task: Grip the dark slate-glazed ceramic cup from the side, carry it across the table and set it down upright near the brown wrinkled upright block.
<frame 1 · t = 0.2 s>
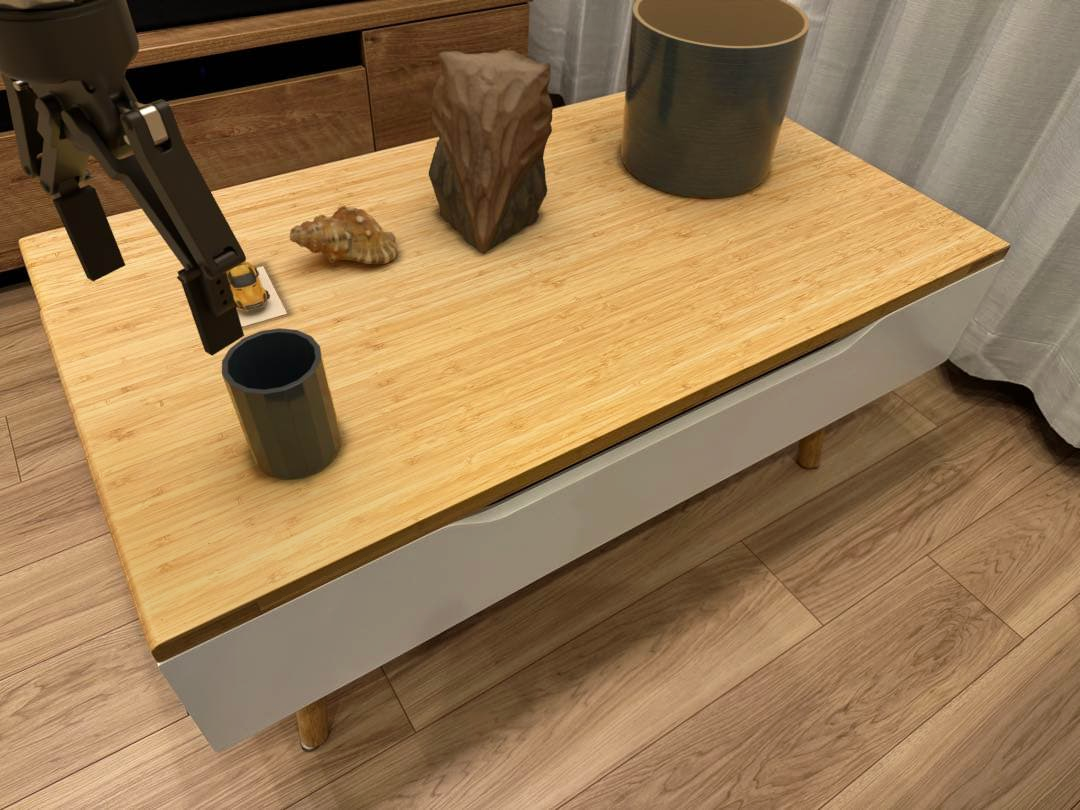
hand: (163, 306, 56), 19 cm above the table, tool pointing down, fingers open, 13 cm apart
brown wrinkled upright block: (485, 224, 100), on the table
cup: (297, 446, 73), on the table
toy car: (249, 297, 88), on the table
planter: (693, 161, 113), on the table
seashell: (349, 259, 94), on the table
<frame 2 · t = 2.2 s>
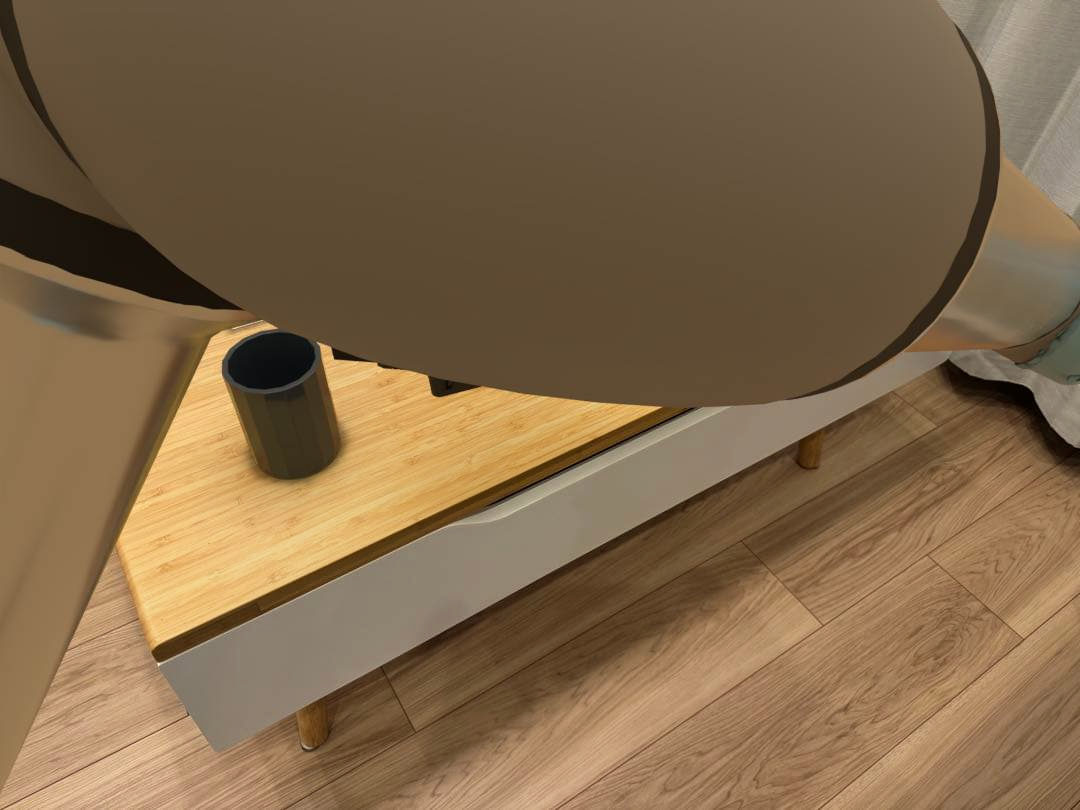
hand: (357, 280, 57), 20 cm above the table, tool horizontal, fingers open, 13 cm apart
nothing on the table moved.
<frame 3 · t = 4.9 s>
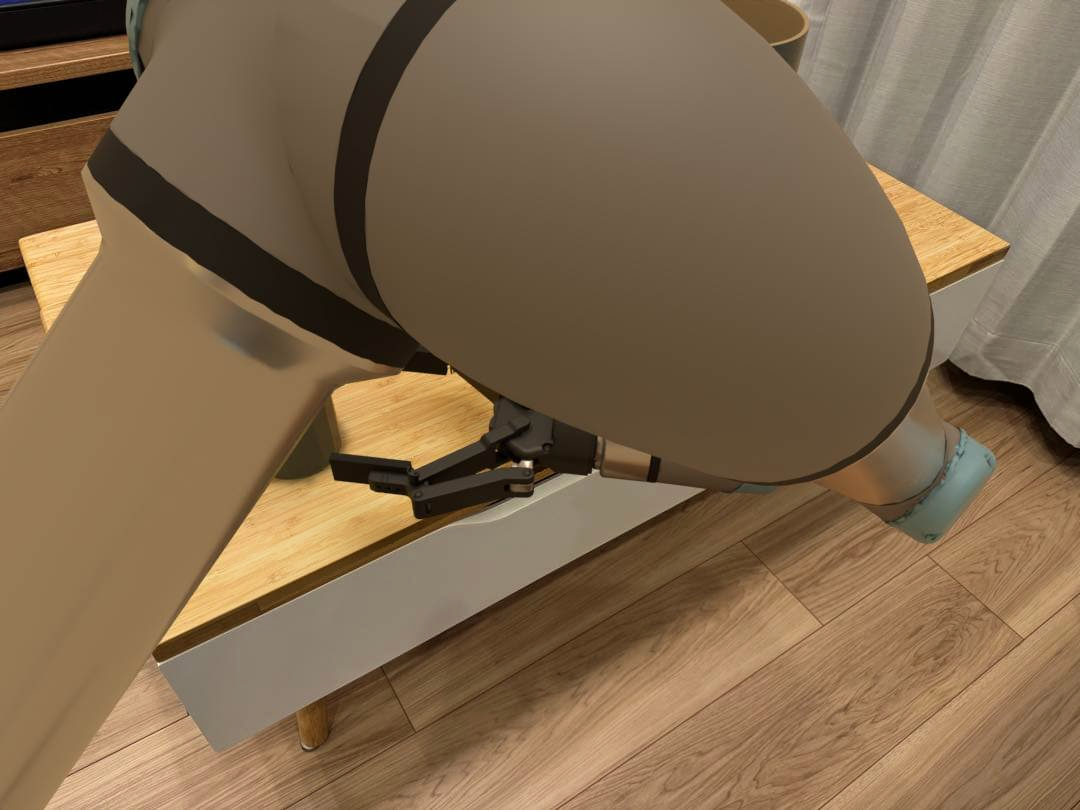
hand: (356, 407, 68), 6 cm above the table, tool horizontal, fingers open, 13 cm apart
nothing on the table moved.
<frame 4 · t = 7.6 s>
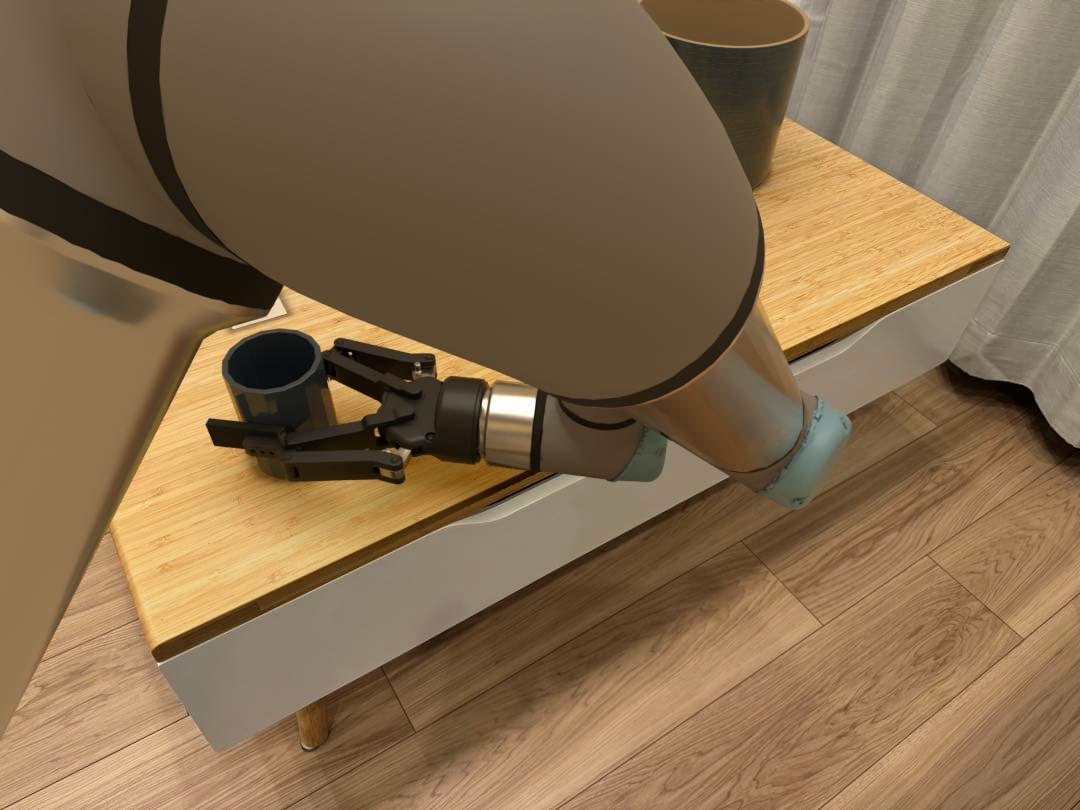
hand: (232, 396, 69), 6 cm above the table, tool horizontal, fingers closed on cup, 8 cm apart
cup: (297, 446, 73), on the table, touching gripper
everything else where it was.
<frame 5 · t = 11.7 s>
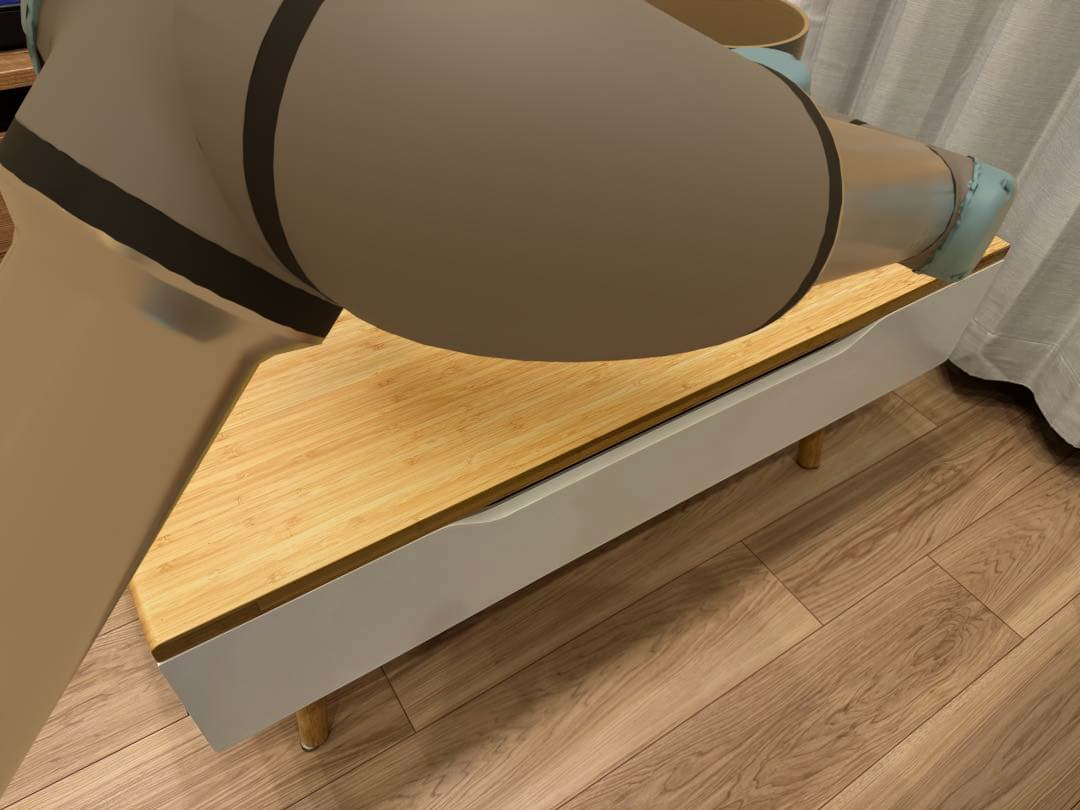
hand: (334, 219, 67), 18 cm above the table, tool horizontal, fingers closed on cup, 8 cm apart
cup: (396, 281, 71), point 12 cm above the table, touching gripper
everything else where it was.
when the fingers open (6 cm above the table, at t = 16.0 s): cup stays where it is, on the table.
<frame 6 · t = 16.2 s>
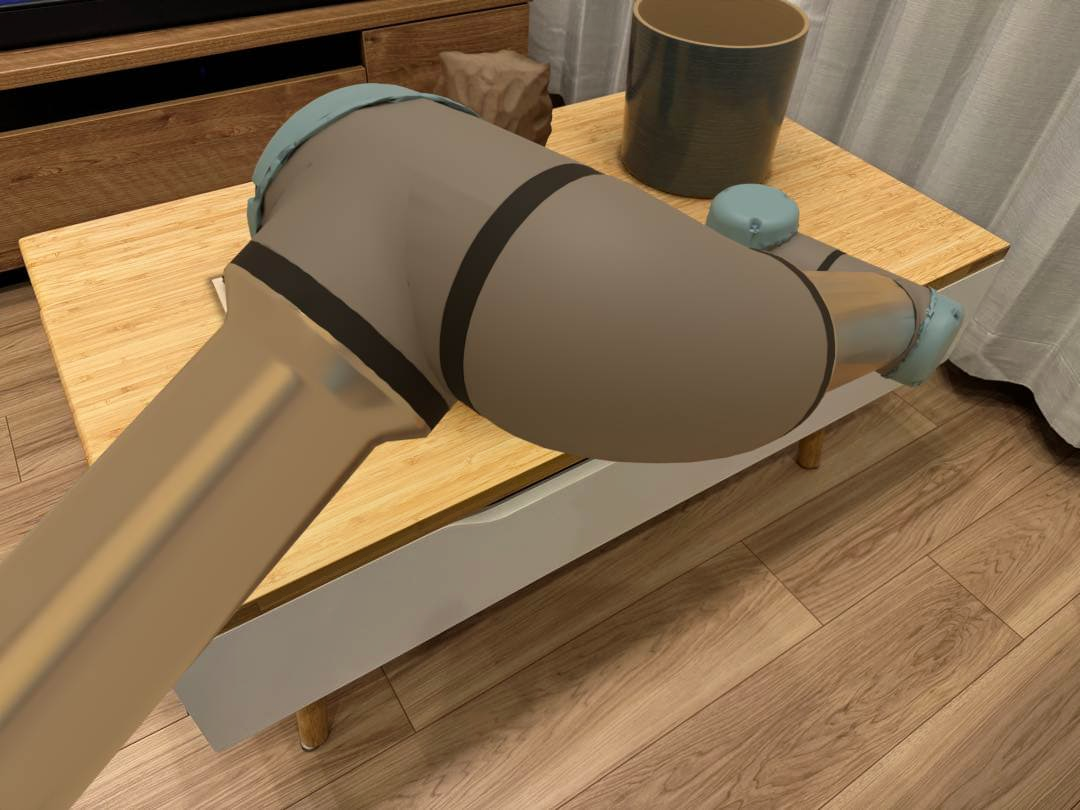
hand: (396, 310, 78), 6 cm above the table, tool horizontal, fingers open, 9 cm apart
cup: (444, 358, 82), on the table
everything else where it was.
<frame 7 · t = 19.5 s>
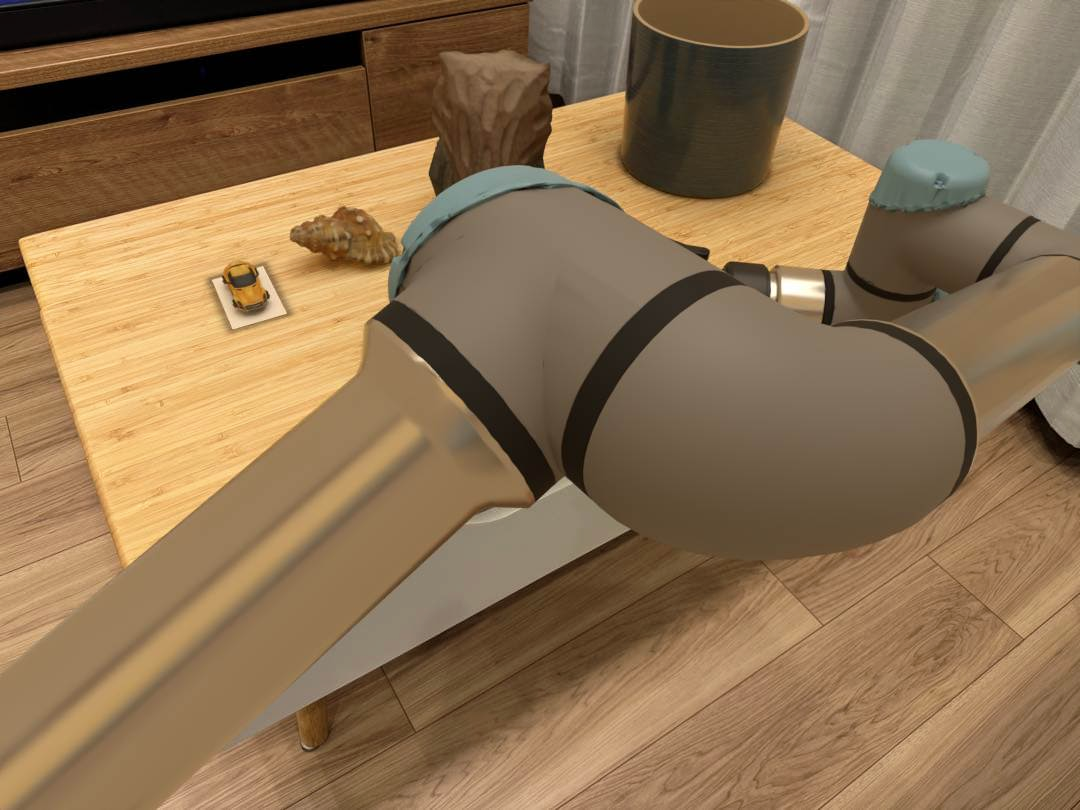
hand: (530, 284, 72), 12 cm above the table, tool horizontal, fingers open, 13 cm apart
nothing on the table moved.
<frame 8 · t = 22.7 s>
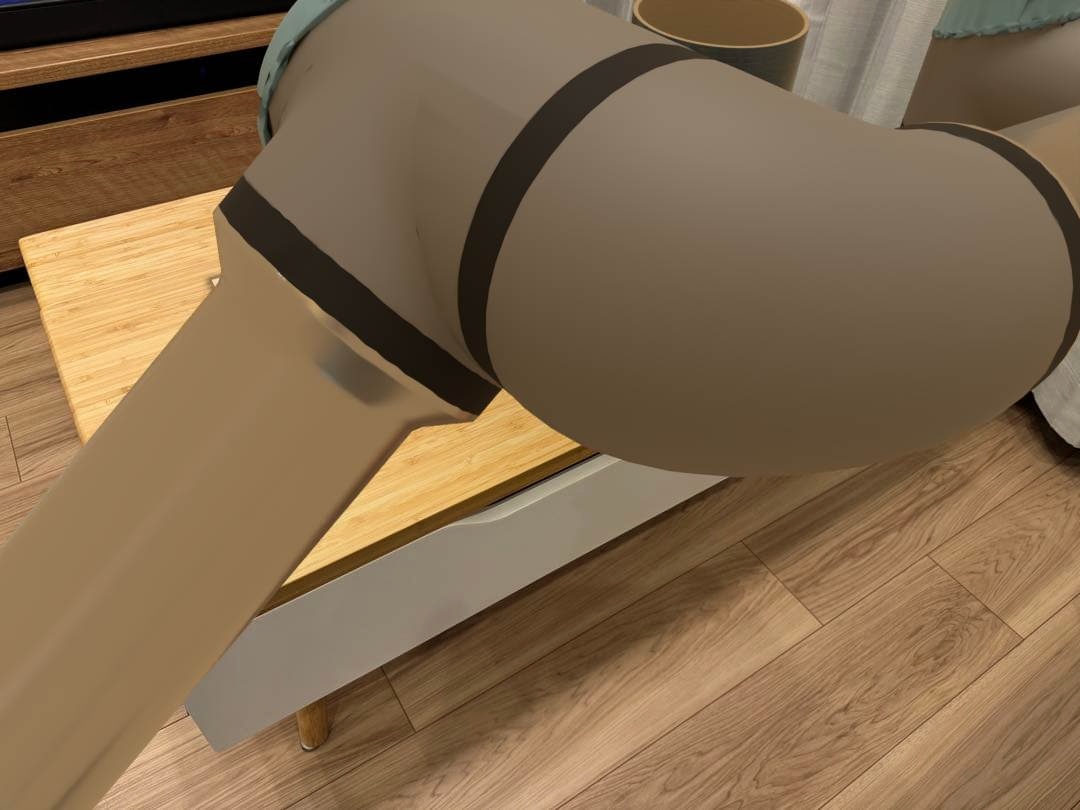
hand: (506, 165, 58), 26 cm above the table, tool horizontal, fingers open, 13 cm apart
nothing on the table moved.
at the end: cup 26.0 cm from the brown wrinkled upright block (horizontally); cup moved 17.9 cm from its start; cup tilted 0° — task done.
